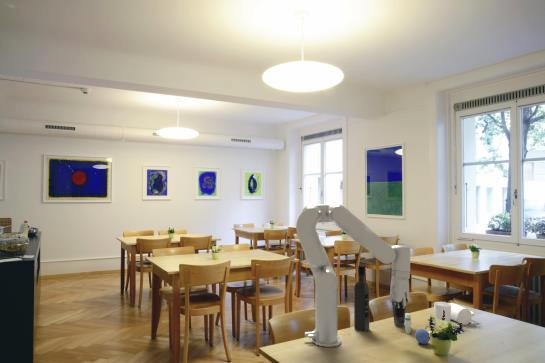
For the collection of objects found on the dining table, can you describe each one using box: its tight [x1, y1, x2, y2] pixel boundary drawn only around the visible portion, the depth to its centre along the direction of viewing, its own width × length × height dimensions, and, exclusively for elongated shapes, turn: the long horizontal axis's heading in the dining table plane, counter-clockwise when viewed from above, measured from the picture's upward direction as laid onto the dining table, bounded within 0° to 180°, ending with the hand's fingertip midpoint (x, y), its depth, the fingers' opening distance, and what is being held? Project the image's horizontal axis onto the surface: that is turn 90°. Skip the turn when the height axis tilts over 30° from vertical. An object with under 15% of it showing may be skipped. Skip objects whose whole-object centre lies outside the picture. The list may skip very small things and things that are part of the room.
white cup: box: [433, 301, 452, 323], centre depth 187 cm, size 8×8×10 cm
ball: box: [414, 328, 431, 345], centre depth 163 cm, size 6×6×6 cm
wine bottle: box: [353, 264, 370, 333], centre depth 181 cm, size 6×6×30 cm
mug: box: [449, 302, 476, 326], centre depth 192 cm, size 12×10×8 cm
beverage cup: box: [391, 298, 408, 328], centre depth 186 cm, size 7×7×20 cm
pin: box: [404, 312, 412, 335], centre depth 176 cm, size 2×2×9 cm
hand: (399, 316), depth 164 cm, fingers closed
